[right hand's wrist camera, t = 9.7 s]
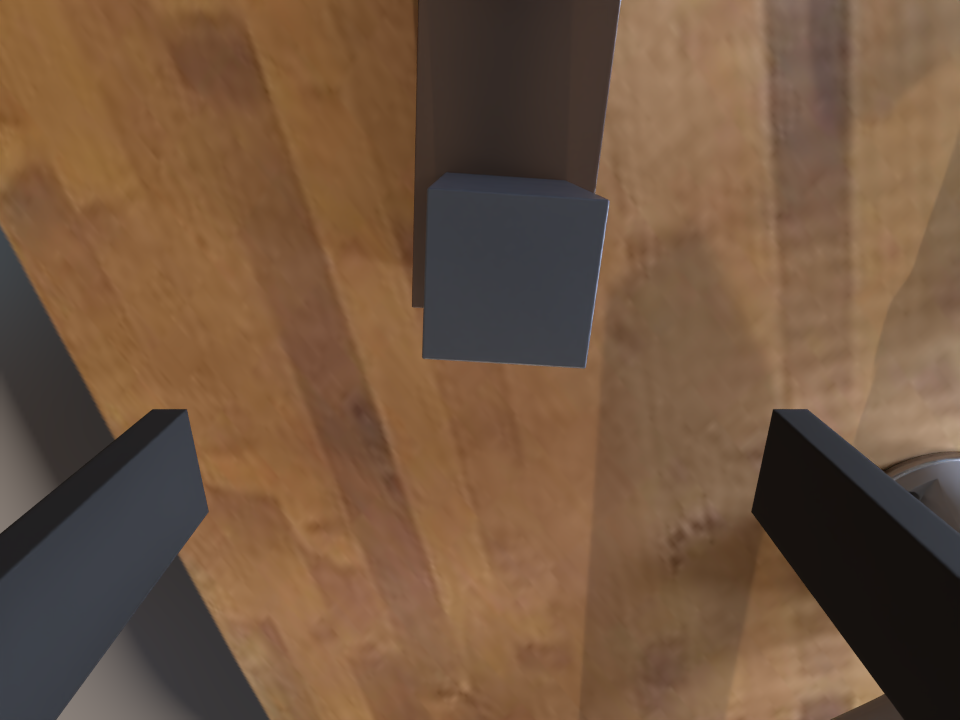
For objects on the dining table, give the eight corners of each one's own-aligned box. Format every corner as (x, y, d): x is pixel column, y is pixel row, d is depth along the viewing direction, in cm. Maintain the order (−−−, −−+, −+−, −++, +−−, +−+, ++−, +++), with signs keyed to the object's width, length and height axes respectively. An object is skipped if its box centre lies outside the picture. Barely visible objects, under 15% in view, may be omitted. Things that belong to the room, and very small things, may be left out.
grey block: (566, 180, 28) (610, 200, 18) (552, 298, 30) (585, 369, 20) (445, 172, 27) (427, 187, 18) (440, 291, 30) (422, 359, 20)
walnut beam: (620, -261, 28) (679, -431, 20) (557, 279, 39) (578, 317, 30) (443, -276, 28) (427, -454, 20) (427, 271, 38) (411, 307, 30)
